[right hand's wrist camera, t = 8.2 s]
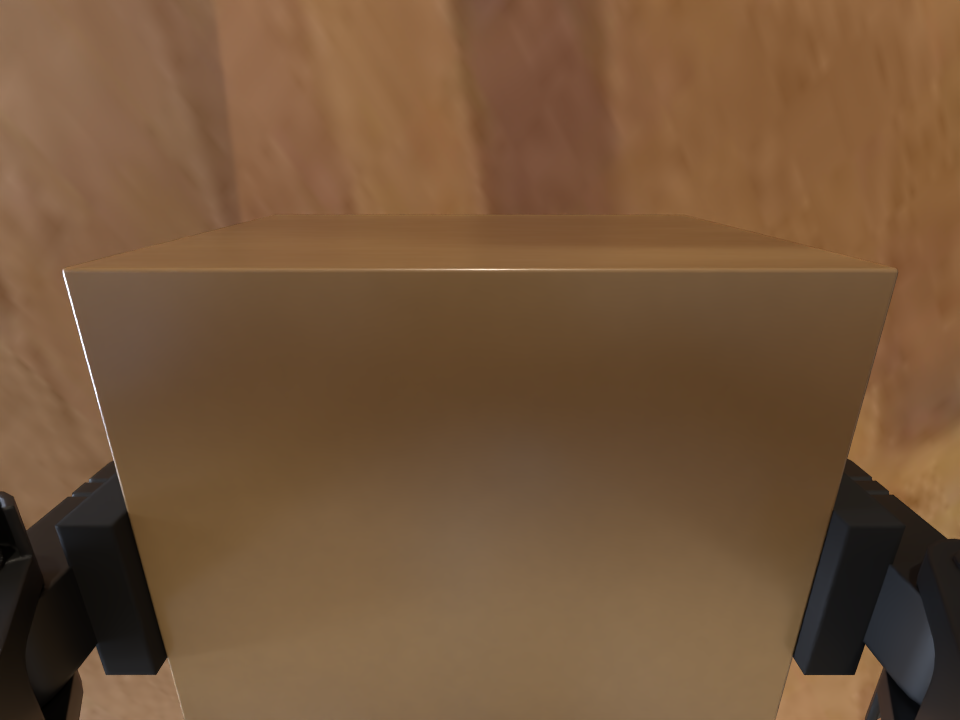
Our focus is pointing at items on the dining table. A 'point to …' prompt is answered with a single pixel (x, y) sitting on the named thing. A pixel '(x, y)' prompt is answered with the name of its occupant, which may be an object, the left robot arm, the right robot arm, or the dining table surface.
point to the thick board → (479, 459)
